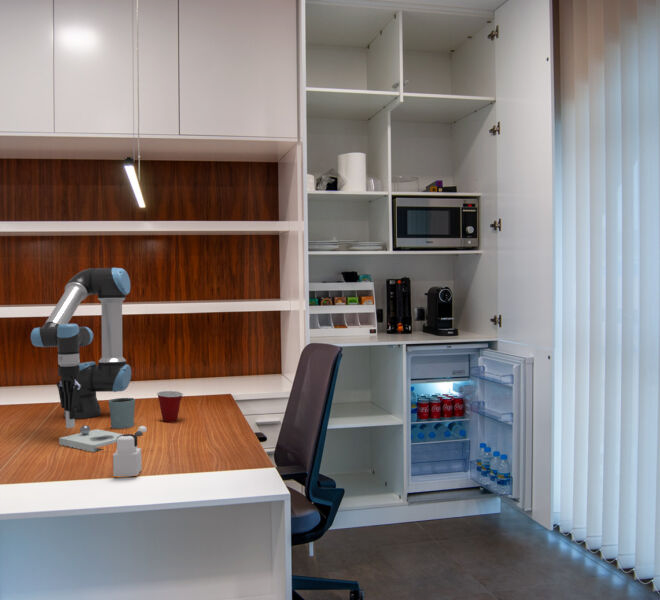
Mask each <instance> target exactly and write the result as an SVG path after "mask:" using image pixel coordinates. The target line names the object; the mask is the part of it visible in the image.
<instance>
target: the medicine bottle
mask: <svg viewBox="0 0 660 600" xmlns="http://www.w3.org/2000/svg"><path fill="white" fill-rule="evenodd" d="M123 434H124V433H123ZM142 463H143V462H142V448H141V447H138V436H136V435H135V434H133V433H125V434H124V435H120V436H119V437H117V442H116V451H115V452H114V453H113V454H112V472H113V473H112V477H113V476H134V475H138V474H139V475H140V473H141V472H142V470H143V468H142V466H143V465H142ZM140 471H141V472H140ZM139 472H140V473H139ZM139 475H138V476H139Z"/></svg>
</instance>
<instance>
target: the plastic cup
mask: <svg viewBox="0 0 660 600" xmlns="http://www.w3.org/2000/svg"><path fill="white" fill-rule="evenodd" d="M156 395H157V397H158V401H159V402H158V403H159V407H160V408H159V409H160V413H161V418H162V421H163V422H165V423H173V422H177V421H178V418H179V412H180V406H181V401H182V398H183V395H184V393H183V392H181V391H175V390H162V391H158V392H156Z"/></svg>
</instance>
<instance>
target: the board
mask: <svg viewBox="0 0 660 600" xmlns="http://www.w3.org/2000/svg"><path fill="white" fill-rule="evenodd" d="M120 435H124V433H120V432H113V431H109V430H108V431H107V430H102V429H98V428H97V429H92V430H91V429H90V432H89V433H88V434H87V435H83V434H81V432H78V433H75V434H71V435H66V436H62V437H59V438H58V443H59V444H60V446H63V445H64V446H63V447H67V446H69V448H72V447H73V449H76V448H77V450H80V449H82V450H81V451H85V450H86V451H85V452H89V451H91V452H90V453H96V451H97V452H101V451H104V449H103V448H101V447H104V446H108V445H112V444H115V443H116V444H117V437H119V436H120ZM59 444H58V445H59ZM100 450H101V451H100Z"/></svg>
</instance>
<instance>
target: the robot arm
mask: <svg viewBox="0 0 660 600" xmlns="http://www.w3.org/2000/svg"><path fill="white" fill-rule="evenodd" d="M130 292H131V280H130V276H129V274H128V272H127V271H126V269H124V268H121V267H98V268H96V267H95V268H94V267H91V268H87V269H84V270H81V271H79V272H78V273H77V274H75V275H74V276H73V277H72V278H70V279H69V280H68V282H67V283H66V284H65V286H64V292H63V294H62V295H61V297H60V299H59V301H58V302H57V304H56V305H55V307H54V308H53V310H52V311H51V313H50V315H49V317H48V318H47V320H45V323H44V324H43V325H42V327H41V326H39V327H34V328H33V329H32V330H31V333H30V341H31V344H32V345H33V346H34V347H36V348H37V347H39V348H57V364H58V365H59V366H58V367H57V372H58V373H57V374H58V376H59V377H60V381H59V382H56V386H57V389H58V395H59V402H60V408H61V409H63V410H64V411H63V416H64V418H65V428H66V429H73V428H75V427H76V426H75V425H76V422H75V421H76V419H77V420H78V419H81V420H82V419H88V418H95V417H98V416H101V414H102V410H101V409H102V408H101V407H100V404H99V401H98V398H97V392H98V393H101V392H109V393H110V392H113V393H116V392H124V391H126V390H127V388H128V387H129V386H130V383H131V379H132V369H131V366H130V365H129V364H127V360H126V358H124V356H123V353H124V352H123V303H124V301H125V300H126V296H127V295H128V294H130ZM90 295H91V296H93V295H95V296H96V295H97V300H98V301H99V302H100V304H101V357H100V359H99V360H97V361H98V362H97V363H98V364H97V363H96V362H95V361H86V362H81V360H80V348H81V347H85V346H87V345H90V344H91V343H92V341H93V340H94V333H93V330H91V328H89V327H87V326H79V325H78V323H69V322H70V321H71V319H72V318H73V316H74V314H75V312H76V311H77V309H78V307H79V305H80V304H81V302H82V301H84V300H86V298H87V297H88V296H90Z"/></svg>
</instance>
